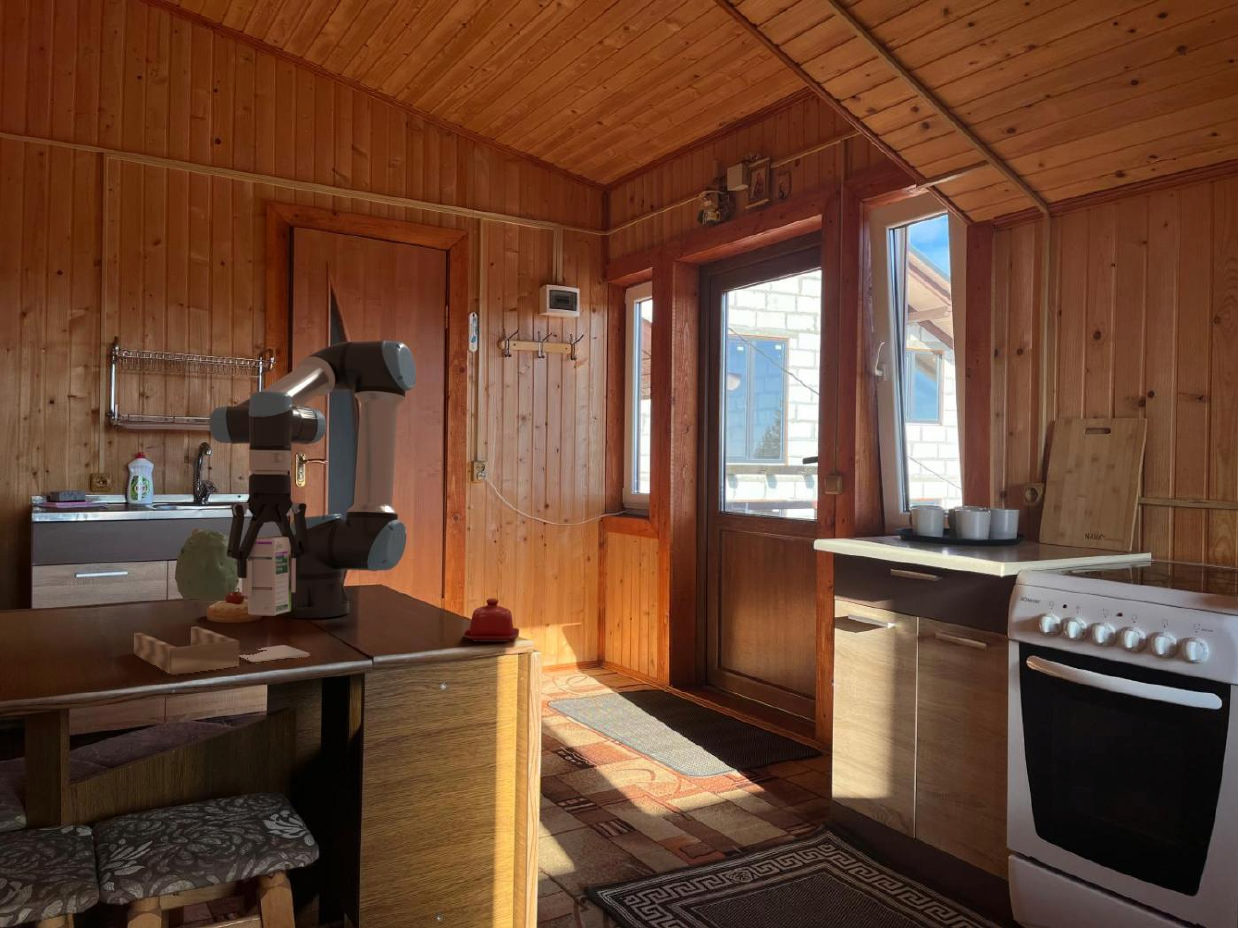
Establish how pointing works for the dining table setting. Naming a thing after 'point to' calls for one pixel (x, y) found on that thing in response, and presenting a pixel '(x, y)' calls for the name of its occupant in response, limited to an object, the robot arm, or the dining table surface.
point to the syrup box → (270, 576)
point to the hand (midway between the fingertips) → (268, 593)
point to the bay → (189, 652)
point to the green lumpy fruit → (206, 567)
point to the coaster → (275, 654)
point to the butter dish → (491, 623)
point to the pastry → (231, 609)
